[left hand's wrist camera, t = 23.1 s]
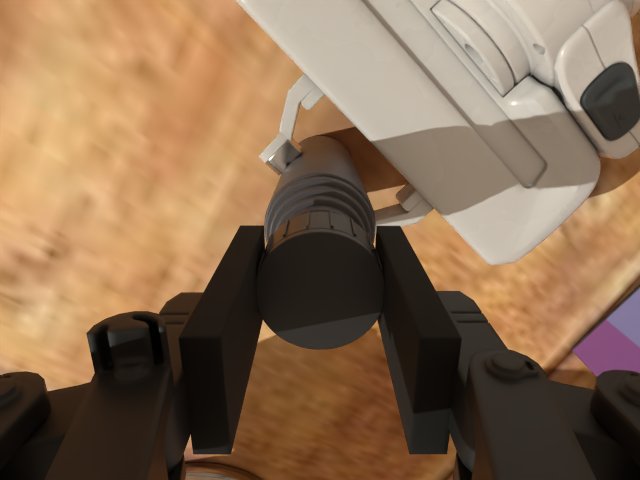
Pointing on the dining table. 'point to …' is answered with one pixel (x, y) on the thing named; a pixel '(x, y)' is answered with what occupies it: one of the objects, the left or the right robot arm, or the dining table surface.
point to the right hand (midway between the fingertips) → (309, 202)
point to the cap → (320, 281)
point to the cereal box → (614, 339)
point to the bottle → (320, 187)
